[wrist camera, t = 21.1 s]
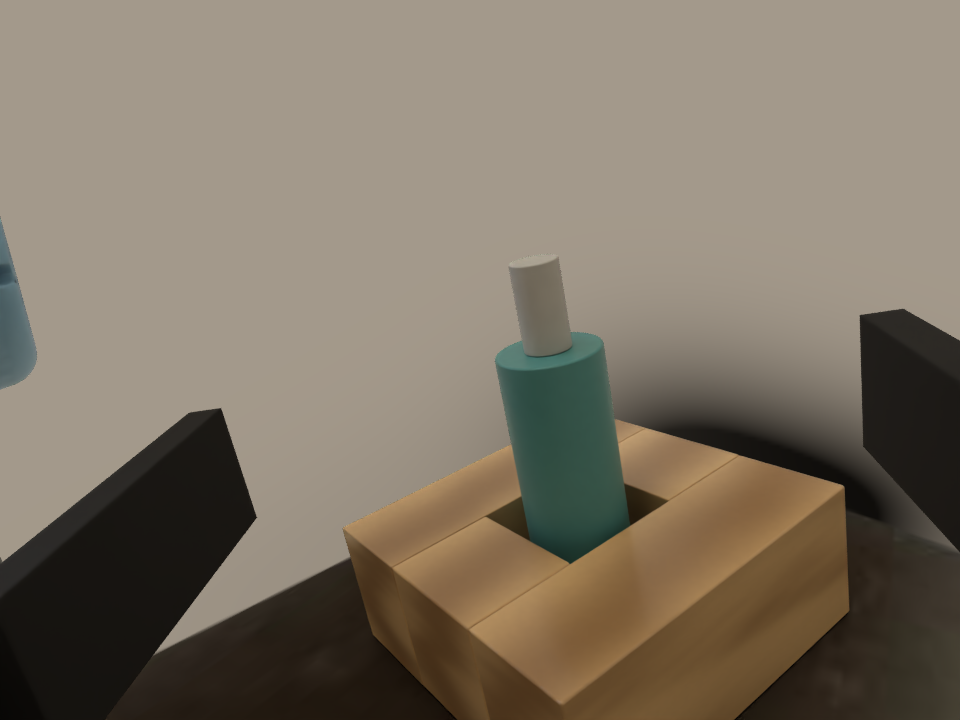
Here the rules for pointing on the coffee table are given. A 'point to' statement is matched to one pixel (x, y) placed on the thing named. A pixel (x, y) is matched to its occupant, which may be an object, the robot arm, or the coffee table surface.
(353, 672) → the coffee table surface
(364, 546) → the holder
